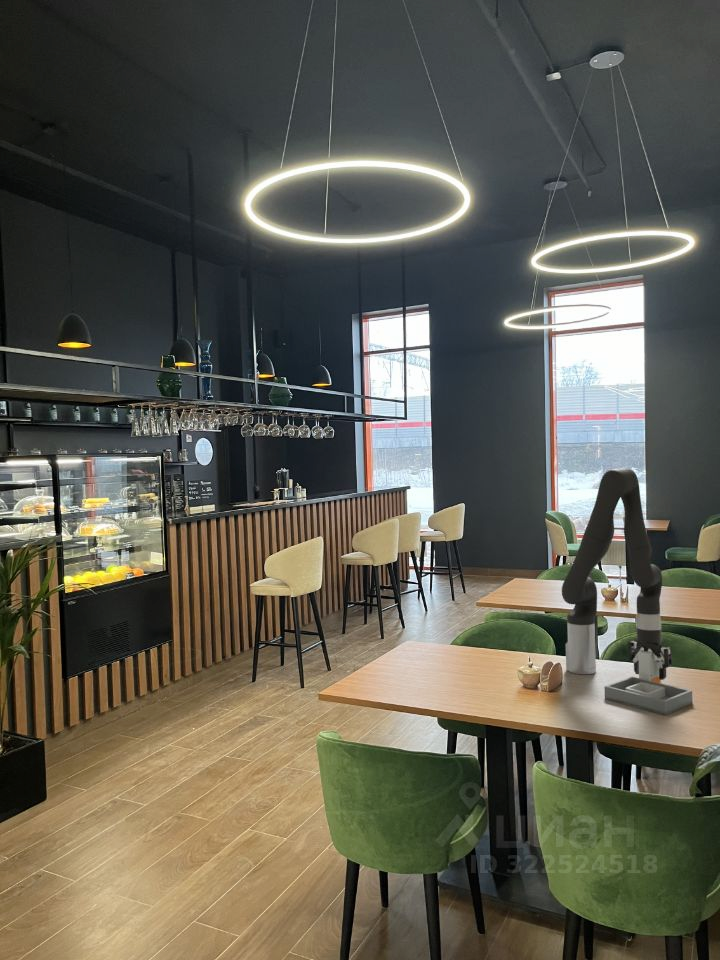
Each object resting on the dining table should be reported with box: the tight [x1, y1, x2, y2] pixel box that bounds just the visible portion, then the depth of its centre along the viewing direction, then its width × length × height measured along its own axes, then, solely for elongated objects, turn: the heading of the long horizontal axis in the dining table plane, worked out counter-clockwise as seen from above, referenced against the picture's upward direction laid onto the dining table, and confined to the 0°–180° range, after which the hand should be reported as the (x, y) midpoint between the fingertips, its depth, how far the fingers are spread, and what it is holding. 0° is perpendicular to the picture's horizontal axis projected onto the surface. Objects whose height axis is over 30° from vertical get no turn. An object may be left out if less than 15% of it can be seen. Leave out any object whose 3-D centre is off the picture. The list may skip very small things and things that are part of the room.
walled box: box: [603, 676, 693, 716], centre depth 219 cm, size 20×15×4 cm
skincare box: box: [638, 650, 662, 684], centre depth 232 cm, size 6×4×12 cm
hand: (650, 676), depth 232 cm, fingers open, 8 cm apart
